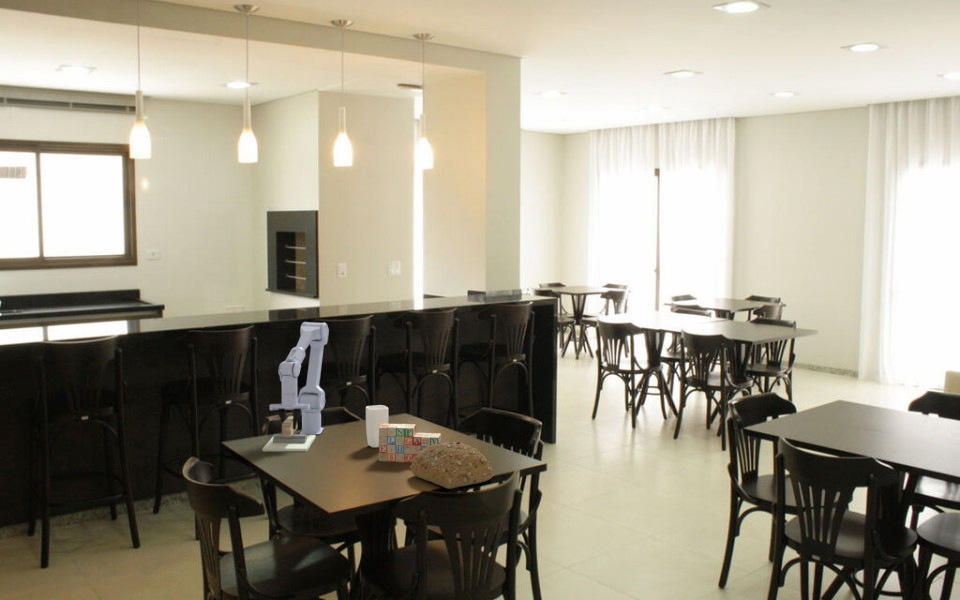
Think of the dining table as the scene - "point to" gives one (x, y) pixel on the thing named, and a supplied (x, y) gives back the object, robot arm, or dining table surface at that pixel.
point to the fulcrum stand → (289, 443)
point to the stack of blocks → (403, 442)
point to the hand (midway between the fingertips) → (289, 428)
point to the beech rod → (288, 427)
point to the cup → (375, 423)
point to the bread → (451, 465)
